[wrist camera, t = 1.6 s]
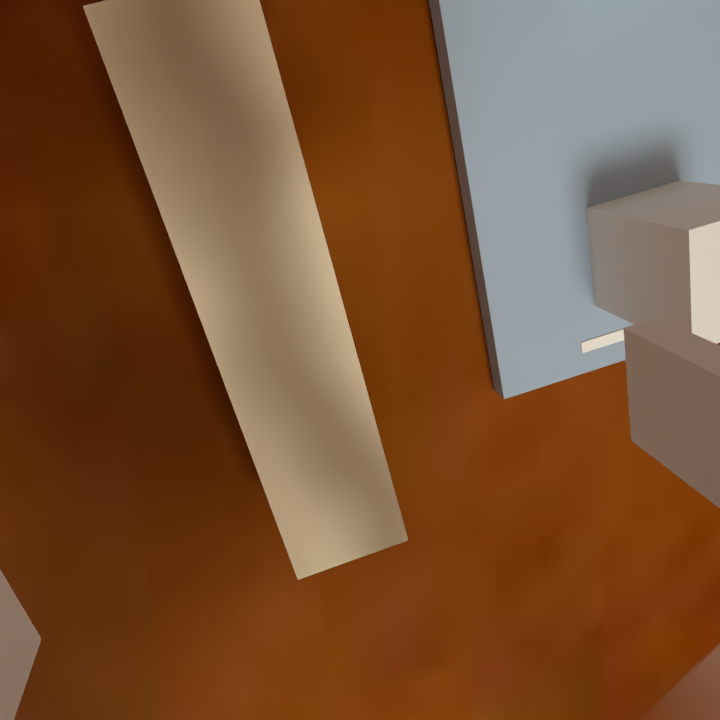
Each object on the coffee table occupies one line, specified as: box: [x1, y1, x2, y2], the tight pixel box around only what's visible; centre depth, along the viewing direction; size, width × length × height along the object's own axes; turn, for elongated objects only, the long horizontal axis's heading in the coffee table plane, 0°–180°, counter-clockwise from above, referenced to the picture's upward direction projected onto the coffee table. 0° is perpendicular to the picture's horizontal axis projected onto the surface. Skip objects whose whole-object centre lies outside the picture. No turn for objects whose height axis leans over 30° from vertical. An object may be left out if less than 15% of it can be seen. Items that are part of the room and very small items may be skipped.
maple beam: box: [83, 0, 408, 580], centre depth 26 cm, size 5×22×7 cm, turn 14°
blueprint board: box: [429, 0, 720, 399], centre depth 25 cm, size 16×26×8 cm, turn 13°
